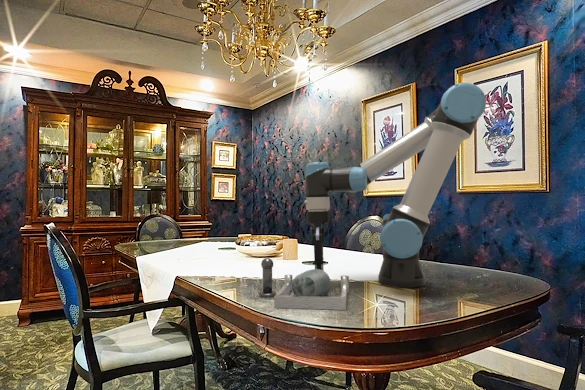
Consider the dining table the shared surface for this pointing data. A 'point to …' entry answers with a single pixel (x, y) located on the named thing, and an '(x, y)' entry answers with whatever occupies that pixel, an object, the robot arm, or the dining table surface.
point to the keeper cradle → (311, 298)
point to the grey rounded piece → (311, 283)
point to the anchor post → (267, 278)
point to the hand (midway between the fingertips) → (319, 284)
